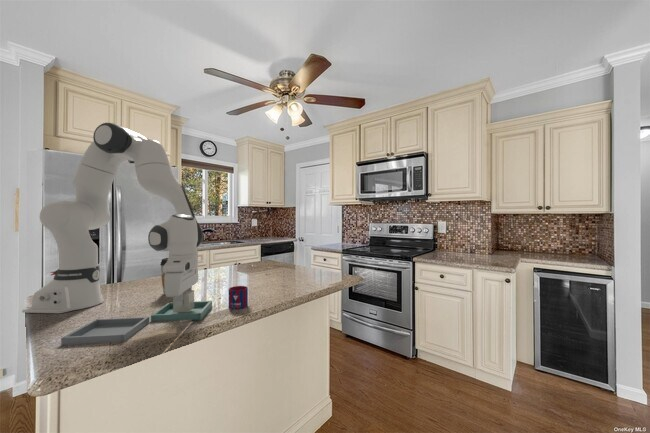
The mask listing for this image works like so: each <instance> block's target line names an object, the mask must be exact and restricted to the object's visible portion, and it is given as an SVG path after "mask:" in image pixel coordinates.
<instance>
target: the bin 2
mask: <svg viewBox="0 0 650 433" xmlns="http://www.w3.org/2000/svg"><path fill="white" fill-rule="evenodd" d="M212 308H213V300H205V301H204V300H203V301H202V300H200V301H199V300H198V301H195V300H194V308H193V309H192V310H191V311H190V312H180V313H173V301H172V302H170V301H169V302H167V303H166V304H165V305H163V306H162V307H161V308H159V309H158V310H156V311H154V313H152V314H151V315H150V322H164V321H167V322H168V321H186V320H187V321H189V320H191V322H201V321H202V320H203V319H204V318H205V317H206V316H207V314H208V313H209V312H210V311H211V309H212Z"/></svg>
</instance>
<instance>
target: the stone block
mask: <svg viewBox="0 0 650 433" xmlns="http://www.w3.org/2000/svg"><path fill="white" fill-rule="evenodd" d="M182 298H183V300H184V304H183V305H182V306H176V299H175V297H172V299H173V300H172V302H173V313H180V312H190V311H191V310H192V309H193V308H194V302H195V290H194V289H192V290H186V291H185V292H183V296H182Z"/></svg>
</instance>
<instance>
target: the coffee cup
mask: <svg viewBox="0 0 650 433" xmlns="http://www.w3.org/2000/svg"><path fill="white" fill-rule="evenodd" d="M168 259H169V257H166V258H162V259H161V261H160V270H161V286H162V293H163V295H164V296H166V294H165V286H164V276H165V273H166V272H163V266H164V265H165V263H166V262H167V260H168Z"/></svg>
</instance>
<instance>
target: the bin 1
mask: <svg viewBox="0 0 650 433" xmlns="http://www.w3.org/2000/svg"><path fill="white" fill-rule="evenodd" d="M148 324H150V316H137V317H135V316H134V317H118V318H117V317H116V318H115V317H114V318H110V317H109V318H96V319H94V320H92V321H90V322H88V323H87V324H84V325H83V326H80V327H79V328H77V329H75V330H73V331H72V332H70V333H68V334H66V335H64V336H62V337H61V340H60V343H61V344H60V345H61V346H70V345H71V346H72V345H87V344H89V345H90V344H105V343H106V344H107V343H125V342H126V341H127V340H129V339H130V338H131V337H133V336H134V335H136V334H137V333H138V332H140V330H142V329H143V328H145V327H146V326H147V325H148Z"/></svg>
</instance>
